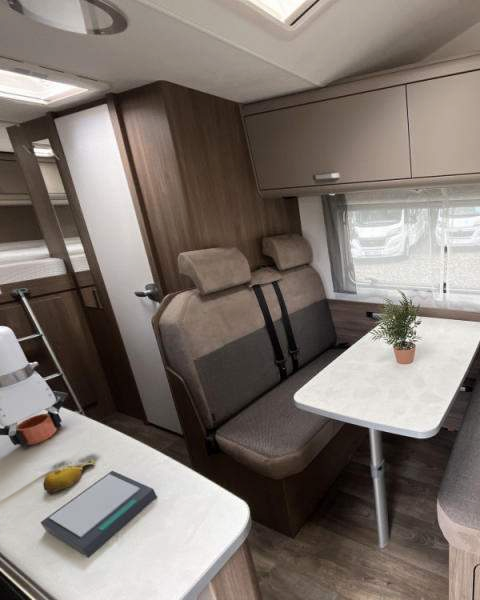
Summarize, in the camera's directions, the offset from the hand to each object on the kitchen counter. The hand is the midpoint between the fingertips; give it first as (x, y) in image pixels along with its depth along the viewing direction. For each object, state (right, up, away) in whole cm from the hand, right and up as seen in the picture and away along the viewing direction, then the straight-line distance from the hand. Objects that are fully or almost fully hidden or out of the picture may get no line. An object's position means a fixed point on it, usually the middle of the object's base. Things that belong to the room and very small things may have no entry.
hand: (39, 434), depth 82 cm
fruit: (+19, -6, -10) cm, 22 cm away
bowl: (0, -1, 0) cm, 1 cm away
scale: (+34, -8, -19) cm, 40 cm away
